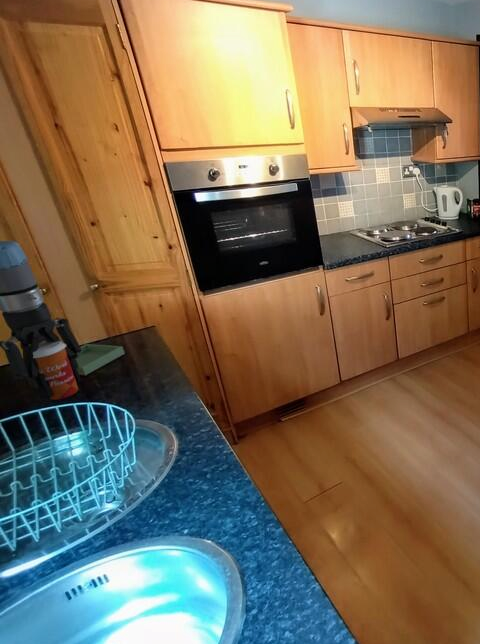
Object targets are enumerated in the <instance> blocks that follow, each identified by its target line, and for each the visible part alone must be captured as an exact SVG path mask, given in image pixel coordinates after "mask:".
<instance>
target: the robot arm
mask: <svg viewBox="0 0 480 644" xmlns="http://www.w3.org/2000/svg"><path fill="white" fill-rule="evenodd" d="M43 296H44V295H43V294H42V291H41V289H40V286H38V282H37V281H36V278H35V276H34V274H33V271H32V268H31V266H30V264H29V261H28V259H27V255H26V253H24V250H23V249H22V248H21V246H20V244H19V243H18V242H16V241H14V240H0V311H1V315H2V317H3V320H4V322H5V323H6V326H7V327H8V328H9V329H10V332H11V333H10V336H11V337H9V338H7V339H6V340H0V348H1V349H2V350H3V351H4V353H5V356H6V359H7V362H8V364H9V367H10V370H11V372H12V375H13V378H14V379H17V380H18V379H19V380H27V381H28V383H29V385H30V388H32V389H36V391H37V393H38V395H39V397H40V398H43V399H44V398H45V399H50V398H51V397H53V395H52V393H51V391H50V389H49V386H48V384H47V382H46V380H45V378H44V376H43V374H38V363H37V361H36V360H35V358H33V357H34V355H33V352H35V351H37V349H38V348H39V344H40V343H41V342H43V341H46V342H57V341H61V342H63V343H64V344H66V347H65V350H66V353H67V356H68V359H69V362H70V365H71V368H72V371H73V374H74V377H75V380H76V383H80V382H81V381H82V378H81V375H79V373H78V371H77V368H78V364H77V361H76V359H75V358H77V357H78V354H77V353H79V352H81V348H80V347H81V346H80V344H79V342H78V340H77V339H76V337H75V335H74V333H73V332H72V330H71V328H70V325H69V319H68V318H63V317H56V318H54V319H53V318H52V314H51V311H50V310H49V306H48V305H47V303H45V299H44V297H43ZM54 329H56V331H57V333H58V335H57V334H56V333H55V332H54ZM59 337H60V338H59ZM18 342H19V343H20V348H19V343H18ZM20 349H21V350H20ZM21 351H22V352H21Z"/></svg>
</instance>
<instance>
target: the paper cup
mask: <svg viewBox="0 0 480 644" xmlns="http://www.w3.org/2000/svg"><path fill="white" fill-rule="evenodd" d="M61 341H62V340H61ZM61 341H57V342H46V341H43V342H41V343H40V344H39V348H38V349H37V351H35V352H33V355H34V357H33V358H35V360H36V361H37V363H38V374H43V376H44V378H45V380H46V382H47V384H48V386H49V389H50V391H51V393H52V395H53V397H51V398H49V399H50V400H62V399H66V398H68V397H70V396H72V395H74V394H76V393H77V392H78V391H79V387H78V382H76V380H75V377H74V374H73V371H72V368H71V365H70V362H69V359H68V356H67V353H66V350H65V347H66V344H64V342H63V341H62V342H61Z"/></svg>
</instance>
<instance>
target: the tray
mask: <svg viewBox="0 0 480 644" xmlns="http://www.w3.org/2000/svg"><path fill="white" fill-rule="evenodd" d="M80 348H81V352H79V353H77V354H78V357H77V358H75V359H76V361H77V364H78V368H77V371H78V373H79V375H80V376H87V375H88V374H91V373H92V372H95V371H96V370H98V369H99V368H102V367H103V366H105V365H107V364H108V363H110V362H113V361H114V360H116V359H118V358H119V357H122V356H123V355H125V354H126V353H125V350H124V348H123V346H122V345H121V346H120V345H109V344H107V345H106V344H95V343H85V344H83V345H82V346H80Z"/></svg>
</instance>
